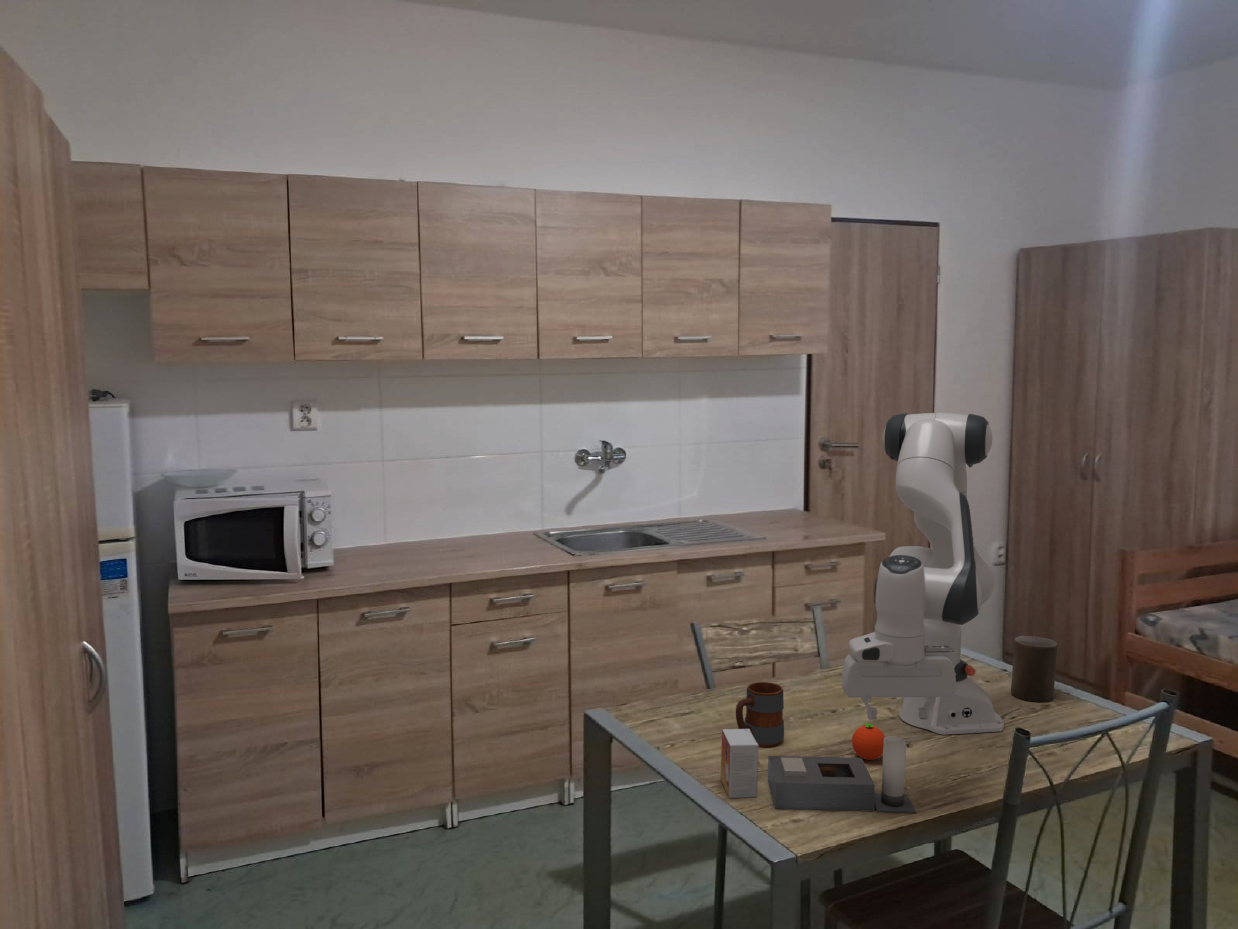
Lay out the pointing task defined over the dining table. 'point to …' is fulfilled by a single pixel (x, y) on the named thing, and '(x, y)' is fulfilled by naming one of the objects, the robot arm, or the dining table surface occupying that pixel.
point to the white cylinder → (893, 771)
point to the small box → (739, 763)
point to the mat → (882, 808)
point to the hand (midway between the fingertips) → (897, 718)
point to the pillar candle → (1034, 669)
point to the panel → (820, 783)
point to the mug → (763, 713)
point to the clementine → (868, 742)
